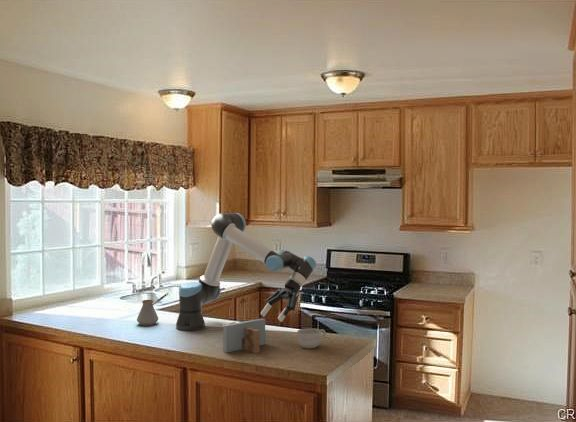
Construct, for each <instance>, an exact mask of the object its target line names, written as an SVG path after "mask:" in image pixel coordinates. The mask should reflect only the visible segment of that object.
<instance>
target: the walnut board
mask: <svg viewBox="0 0 576 422" xmlns="http://www.w3.org/2000/svg"><path fill="white" fill-rule="evenodd" d="M233 323H237V322H236V321H233V322H230V323H229V324H233ZM260 347H261V345H260V330H257V329H254V328H251V327H247V328H245V338H242V350H245V351H248V352H251V353H253V354H258V353H260Z"/></svg>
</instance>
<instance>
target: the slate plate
mask: <svg viewBox="0 0 576 422" xmlns="http://www.w3.org/2000/svg"><path fill="white" fill-rule="evenodd" d="M247 327H251V328H254V329H257V330H260V346H265V345H266V319H265V318H264V317H263V318H262V317H261V318H257V319H251V320H246V321H240V322H236V323H233V324H230V323H228V324H223V326H222V329H223V331H222V335H223V336H222V341H223V342H222V345H223V346H222V352H224V353H225V354H226V353H230V352H236V351H241V350H243V348H242V338H245V328H247Z"/></svg>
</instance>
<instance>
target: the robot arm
mask: <svg viewBox="0 0 576 422" xmlns="http://www.w3.org/2000/svg"><path fill="white" fill-rule="evenodd" d="M246 222H247V221H246V220H245V217H244V216H243V215H242V214H241V213H238V212H233V211H232V212H219V213H217V214H216V215H215V216H214V217H213V218H212V220H211V223H210V225H211V230H212V231H213V233H214V234H215V235H217V239H216V242H215V245H214V247H213V250H212V253H211V254H210V258H209V261H208V263H207V266H206V269H205V272H204V274H203V275H200V277H199V280H198V281H190V282H185V283H183V284H181V285H180V286H179V291H178V294H179V299H178V300H179V302H178V304H179V307H178V308H179V311H178V312H179V313H178V317H177V319H176V323H175V328H176V330H181V331H198V330H201V329H204V328H206V323H205V319H204V315H203V313H202V308H203V307H202V305H207V304H211V303H213V302H214V301H216V300H218V298H219V297H220V295H221V293H222V290H221V282H220V277H221V275H222V274H223V273H222V272H223V269H224V267H225V264H226V263H227V262H226V261H227V259H228V256H229V255H230V252H231V248H232V246H233V244H234V245H235V246H237V247H239V248H240V249H242V250H243V251H244V252H246V253H248V254H249V255H251V256H253V258H255V259H257V260H258V261H260V262H262V263H264V264H265V267H266V268H267V270H268V271H271V272H279V271H280V270H285V269H289V270H291V271H293V272H292V273H291V275H290V276H289V277H288V279H287V281H285V284H284V288H281V287H279V288H278V289H277V290H276V291H275V292H273V293H272V294H271V295H270V296H269V297H267V299H265V302H266V304H265V305H264V307H263V308H262V310H261V312H260V315H261V316H262V317H263V318H265V317H266V315H267V314H268V312H269V311H270V310H271V308H272V306H273V305H274V304H276V303H277V302H279V301H281V300H286V306H285V307H284V309H283V310H282V311H281V312H280V314H279V315H278V317H277V319H278V321H279V322H280V323H282V322H283V321H284V320H285V318H286V316H288V314H289V313H290V312H291V311H295V309H296V305H297V303H298V299H299V296H300V294H299V292H300V290H301V288H302V287H303V286H304V284H305V283H306V281H307V280H308V279H309V277H310V276H311V274H312V273H314V270H315V269H316V267H317V261H316V260H315V259H314V258H313V257H311V256H309V255H305V256H304V257H300V256H298V255H296V254H294V253H292V252H291V251H290V250H287V249H281V250H280V251H279V252H278V253H277V252H276V251H274V250H273V249H271V248H270V247H268V246H267V245H265V244H263V243H261V242H259V241H258V240H257V239H255V238H254V237H252V236H250V235H249V234H247V233H246V232H244V231H245V230H246V226H247V223H246Z"/></svg>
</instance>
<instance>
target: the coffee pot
mask: <svg viewBox="0 0 576 422" xmlns="http://www.w3.org/2000/svg"><path fill="white" fill-rule="evenodd" d="M169 296H171V294H170V293H169V292H167V293H165V294H163V295H162V296H161V297H159V298H158V299H157V300H156V301H154V299H142V300H141V303H142V306H141V309H140V311H139V313H138V316H137V317H136V321H137V323H138V324H139V325H140V326H143V327H144V326H146V327H149V326H154V325H156V323H157V322H158V321H159V316H158V314H157V312H156V309H155V306H154V305H156V304H158V303H159V302H160V301H162V300H163V299H164V298H165V297H169Z"/></svg>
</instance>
